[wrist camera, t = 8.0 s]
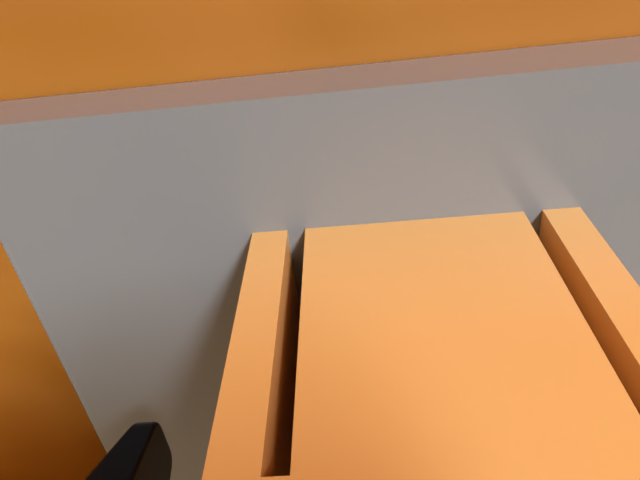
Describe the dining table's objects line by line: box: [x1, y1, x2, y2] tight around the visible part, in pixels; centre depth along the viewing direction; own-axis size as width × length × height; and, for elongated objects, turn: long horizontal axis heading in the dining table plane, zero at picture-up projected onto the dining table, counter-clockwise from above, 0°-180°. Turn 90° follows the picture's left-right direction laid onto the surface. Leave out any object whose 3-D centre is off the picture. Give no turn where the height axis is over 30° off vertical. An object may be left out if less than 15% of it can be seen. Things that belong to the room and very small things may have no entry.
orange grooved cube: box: [202, 207, 640, 480], centre depth 9 cm, size 5×5×5 cm
